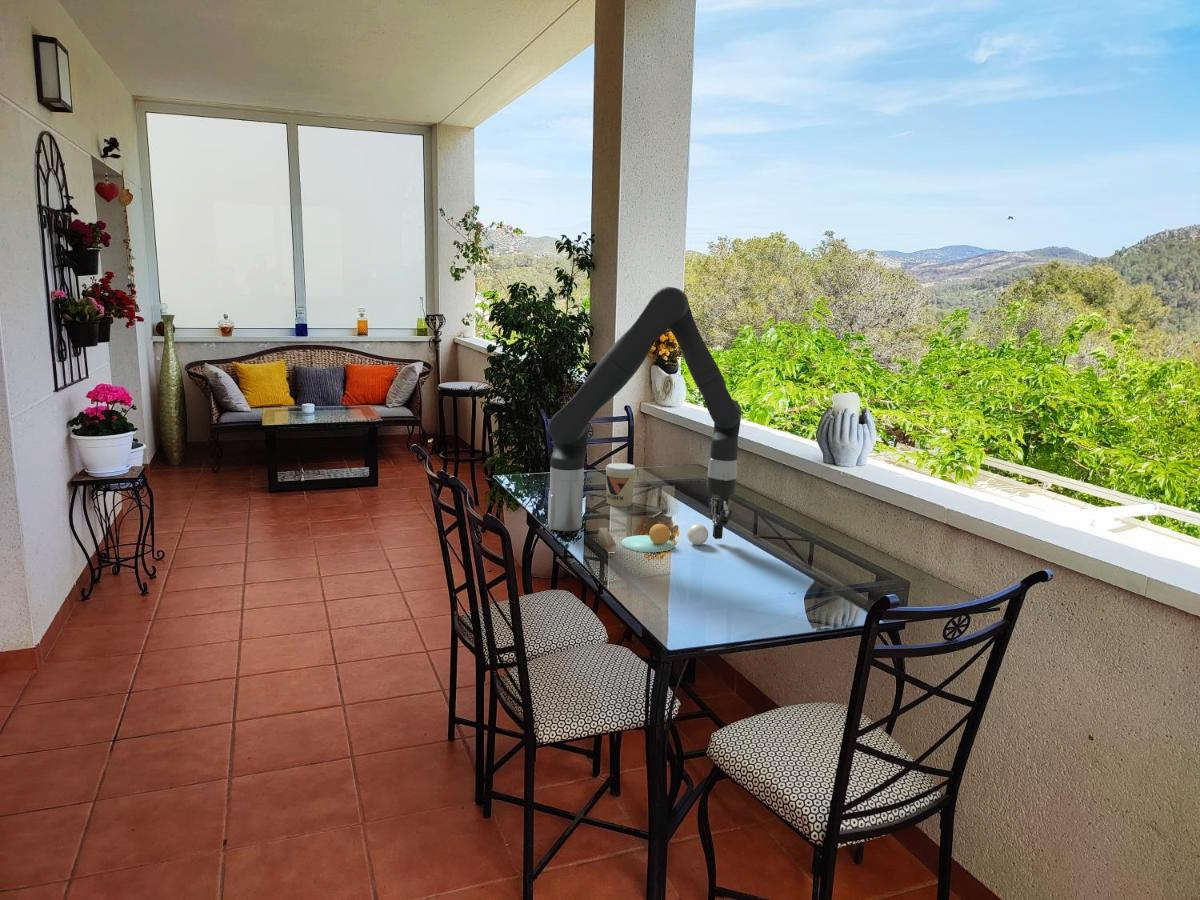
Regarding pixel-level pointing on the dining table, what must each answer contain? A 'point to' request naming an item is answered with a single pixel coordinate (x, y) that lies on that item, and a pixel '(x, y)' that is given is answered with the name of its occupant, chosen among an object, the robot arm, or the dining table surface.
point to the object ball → (659, 534)
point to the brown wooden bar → (607, 540)
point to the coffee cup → (620, 483)
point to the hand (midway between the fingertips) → (717, 537)
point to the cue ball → (697, 534)
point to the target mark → (645, 544)
